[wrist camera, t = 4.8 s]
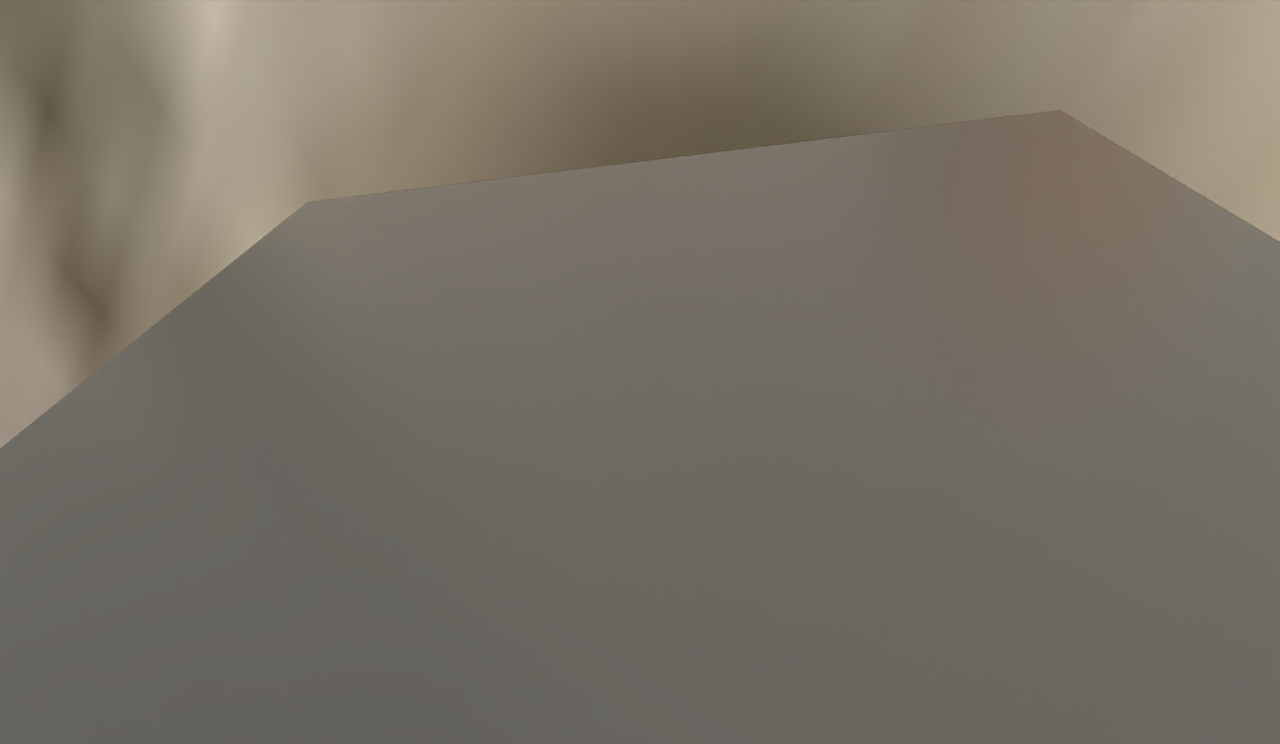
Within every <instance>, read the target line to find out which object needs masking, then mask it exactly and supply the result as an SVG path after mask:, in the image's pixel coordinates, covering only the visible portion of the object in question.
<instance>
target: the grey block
mask: <svg viewBox="0 0 1280 744" xmlns="http://www.w3.org/2000/svg"><path fill="white" fill-rule="evenodd" d="M0 744H1280V242H1279V241H1277V240H1276V239H1274V238H1272V237H1271V236H1269V235H1267V234H1266V233H1264V232H1262V231H1261V230H1259V229H1257V228H1256V227H1254V226H1252V225H1251V224H1249V223H1247V222H1246V221H1244V220H1242V219H1241V218H1239V217H1237V216H1236V215H1234V214H1232V213H1231V212H1229V211H1227V210H1226V209H1224V208H1222V207H1221V206H1219V205H1217V204H1216V203H1214V202H1212V201H1211V200H1209V199H1207V198H1206V197H1204V196H1202V195H1200V194H1199V193H1197V192H1195V191H1194V190H1192V189H1190V188H1189V187H1187V186H1185V185H1184V184H1182V183H1180V182H1179V181H1177V180H1175V179H1174V178H1172V177H1170V176H1169V175H1167V174H1165V173H1164V172H1162V171H1160V170H1159V169H1157V168H1155V167H1154V166H1152V165H1150V164H1149V163H1147V162H1145V161H1144V160H1142V159H1140V158H1139V157H1137V156H1135V155H1134V154H1132V153H1130V152H1129V151H1127V150H1125V149H1124V148H1122V147H1120V146H1119V145H1117V144H1115V143H1114V142H1112V141H1110V140H1109V139H1107V138H1105V137H1104V136H1102V135H1100V134H1099V133H1097V132H1095V131H1094V130H1092V129H1090V128H1089V127H1087V126H1085V125H1084V124H1082V123H1080V122H1079V121H1077V120H1075V119H1074V118H1072V117H1070V116H1069V115H1067V114H1065V113H1064V112H1062V111H1060V110H1058V111H1050V112H1042V113H1034V114H1026V115H1017V116H1009V117H1001V118H993V119H985V120H976V121H968V122H960V123H952V124H944V125H935V126H927V127H919V128H911V129H903V130H894V131H886V132H878V133H870V134H862V135H853V136H845V137H837V138H829V139H821V140H812V141H804V142H796V143H788V144H780V145H771V146H763V147H755V148H747V149H739V150H730V151H722V152H714V153H706V154H698V155H689V156H681V157H673V158H665V159H657V160H648V161H640V162H632V163H624V164H616V165H607V166H599V167H591V168H583V169H575V170H566V171H558V172H550V173H542V174H534V175H525V176H517V177H509V178H501V179H493V180H484V181H476V182H468V183H460V184H452V185H443V186H435V187H427V188H419V189H411V190H402V191H394V192H386V193H378V194H370V195H361V196H353V197H345V198H337V199H329V200H320V201H312V202H307V203H306V204H304V205H303V206H302V207H301V208H299V209H298V210H297V211H296V212H294V213H293V214H292V215H291V216H289V217H288V218H287V219H286V220H284V221H283V222H282V223H281V224H279V225H278V226H277V227H276V228H274V229H273V230H272V231H271V232H270V233H268V234H267V235H266V236H265V237H263V238H262V239H261V240H260V241H258V242H257V243H256V244H255V245H253V246H252V247H251V248H250V249H248V250H247V251H246V252H245V253H243V254H242V255H241V256H240V257H238V258H237V259H236V260H235V261H233V262H232V263H231V264H230V265H228V266H227V267H226V268H225V269H223V270H222V271H221V272H220V273H218V274H217V275H216V276H215V277H213V278H212V279H211V280H210V281H208V282H207V283H206V284H205V285H203V286H202V287H201V288H200V289H198V290H197V291H196V292H195V293H193V294H192V295H191V296H190V297H188V298H187V299H186V300H185V301H184V302H182V303H181V304H180V305H179V306H177V307H176V308H175V309H174V310H172V311H171V312H170V313H169V314H167V315H166V316H165V317H164V318H162V319H161V320H160V321H159V322H157V323H156V324H155V325H154V326H152V327H151V328H150V329H149V330H147V331H146V332H145V333H144V334H142V335H141V336H140V337H139V338H137V339H136V340H135V341H134V342H132V343H131V344H130V345H129V346H127V347H126V348H125V349H124V350H122V351H121V352H120V353H119V354H117V355H116V356H115V357H114V358H112V359H111V360H110V361H109V362H107V363H106V364H105V365H104V366H103V367H101V368H100V369H99V370H98V371H96V372H95V373H94V374H93V375H91V376H90V377H89V378H88V379H86V380H85V381H84V382H83V383H81V384H80V385H79V386H78V387H76V388H75V389H74V390H73V391H71V392H70V393H69V394H68V395H66V396H65V397H64V398H63V399H61V400H60V401H59V402H58V403H56V404H55V405H54V406H53V407H51V408H50V409H49V410H48V411H46V412H45V413H44V414H43V415H41V416H40V417H39V418H38V419H36V420H35V421H34V422H33V423H31V424H30V425H29V426H28V427H26V428H25V429H24V430H23V431H21V432H20V433H19V434H18V435H17V436H15V437H14V438H13V439H12V440H10V441H9V442H8V443H7V444H5V445H4V446H3V447H2V448H0Z"/></svg>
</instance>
